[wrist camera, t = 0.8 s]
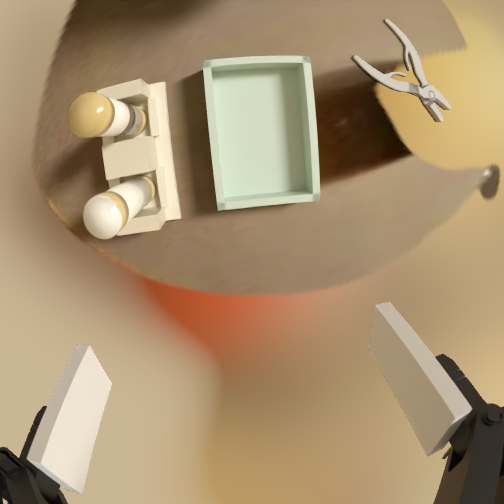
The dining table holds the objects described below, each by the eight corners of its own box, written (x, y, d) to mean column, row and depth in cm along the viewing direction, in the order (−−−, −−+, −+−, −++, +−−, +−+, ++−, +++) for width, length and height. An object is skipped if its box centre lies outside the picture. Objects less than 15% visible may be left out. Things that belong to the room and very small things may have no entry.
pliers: (390, 16, 24) (459, 94, 29) (385, 19, 26) (452, 94, 30) (355, 56, 27) (432, 138, 31) (350, 59, 28) (426, 137, 32)
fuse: (125, 177, 30) (78, 199, 19) (153, 172, 30) (117, 191, 19) (130, 207, 31) (88, 242, 20) (158, 202, 32) (126, 236, 20)
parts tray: (204, 68, 27) (202, 60, 24) (301, 63, 28) (309, 56, 25) (218, 203, 33) (217, 210, 30) (310, 194, 34) (320, 200, 31)
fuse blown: (117, 110, 27) (66, 99, 16) (146, 104, 27) (105, 86, 16) (120, 139, 28) (69, 142, 17) (149, 133, 29) (109, 131, 17)
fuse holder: (101, 98, 27) (83, 93, 22) (165, 82, 27) (156, 73, 23) (119, 226, 33) (105, 239, 28) (181, 216, 33) (175, 229, 29)
